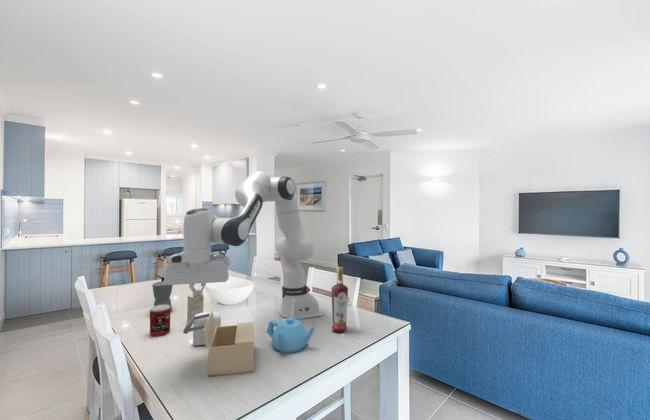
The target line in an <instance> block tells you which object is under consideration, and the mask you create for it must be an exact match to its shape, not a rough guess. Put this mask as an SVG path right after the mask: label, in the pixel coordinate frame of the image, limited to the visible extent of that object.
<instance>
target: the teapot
mask: <svg viewBox="0 0 650 420" xmlns="http://www.w3.org/2000/svg"><path fill="white" fill-rule="evenodd" d="M274 327H275V329H274ZM315 329H316V326H313V325H312V326H310V328H309V330H308V331H306V329H305V327H304V325H303V324H302V322H301V319H300V316H296V318H295V320H294V319H293V318H287V317H286V318H285V319H283V320H281V321H280V322H279V321H277V320H274V319H271V320H270V321H269V323H268V327H267V329H266V333H267V334H268V336H270V338H271V344H272V346H273V348H274V349H275V350H276V351H278V352H281V353H286V354H287V353H289V354H290V353H295V352H299V351H301V350H303V349H304V348H305V347H306V345H307V344H308V342H309V341H310V338H311V336H312V335H313V333H314V331H315Z"/></svg>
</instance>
